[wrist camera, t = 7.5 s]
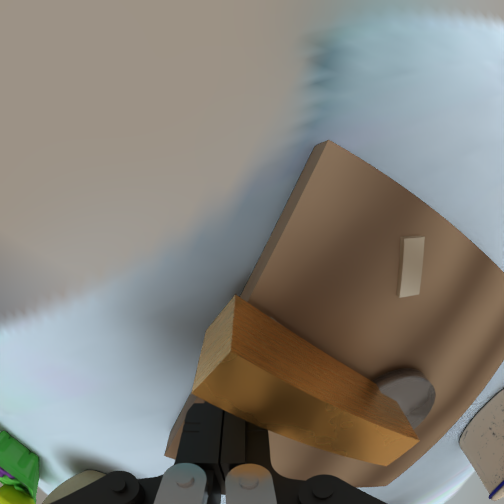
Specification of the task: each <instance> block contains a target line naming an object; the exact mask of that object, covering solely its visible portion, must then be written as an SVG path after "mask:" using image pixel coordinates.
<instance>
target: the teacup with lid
mask: <svg viewBox="0 0 504 504" xmlns="http://www.w3.org/2000/svg"><path fill="white" fill-rule="evenodd" d="M459 444H460V447H461V449H462V450H463V452H464V453H465V455H466V457H467V458H468V460H469V461H470V463H471V464H472V466H473V468H474V469H475V471H476V472H477V474H478V476H479V477H480V479H481V481H482V482H483V484H484V486H485V487H486V489H487V491H488V492H489V494H490V495H489V499H492V500H493V501H496V500H499V499H500V498H502V497H504V389H503V390H502V391H500V392H499V393H498V394H497V395H496V396H494V397H493V398H492V399H491V400H490V401H489V402H488V403H487V404H486V405H485V406H484V407H483V408H482V409H481V410H480V411H479V412H478V413H477V415H476V416H475V417H474V418H473V419H472V421H471V422H470V423H469V424H468V426H467V427H466V429H465V430H464V432H463V434H462V436H461V438H460V442H459Z"/></svg>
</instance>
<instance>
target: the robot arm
mask: <svg viewBox="0 0 504 504" xmlns="http://www.w3.org/2000/svg"><path fill="white" fill-rule="evenodd" d="M221 494H223V495H226V504H387V503H385V502H383V501H381V500H379V499H377V498H375V497H373V496H371V495H369V494H367V493H365V492H363V491H361V490H359V489H357V488H356V487H354V486H352V485H350V484H348V483H347V482H345V481H343V480H341V479H340V478H338V477H336V476H333V475H328V474H322V475H316V476H313V477H311V478H309V479H307V480H306V481H305V480H297V479H290V478H286V477H284V476H282V475H280V474H278V473H277V472H276V471H275V470H274V468H273V467H272V464H271V458H270V445H269V433H268V430H267V429H264V428H262V427H259V426H257V425H255V424H253V423H250V422H248V421H246V420H244V419H241V418H239V417H237V416H235V415H233V414H231V413H229V412H227V411H224V410H222V409H220V408H218V407H216V406H214V405H212V404H210V403H209V402H207V401H204V403H194V404H193V405H192V406H191V407H190V409H189V410H188V411H187V413H186V417H185V421H184V425H183V430H182V434H181V438H180V442H179V447H178V451H177V456H176V460H175V463H174V465H173V466H171V467H170V468H168V469H167V470H166V472H165V473H164V474H163V475H161V476H158V477H153V478H144V479H136V478H135V476H133V475H132V474H130V473H128V472H125V471H114V472H111V473H108V474H107V475H105V476H103V477H101V478H100V479H98V480H96V481H94V482H92V483H90V484H88V485H87V486H85V487H83V488H81V489H79V490H77V491H75V492H73V493H71V494H69V495H67V496H65V497H63V498H60V499H58V500H56V501H54V502H52V503H50V504H220V503H221Z"/></svg>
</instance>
